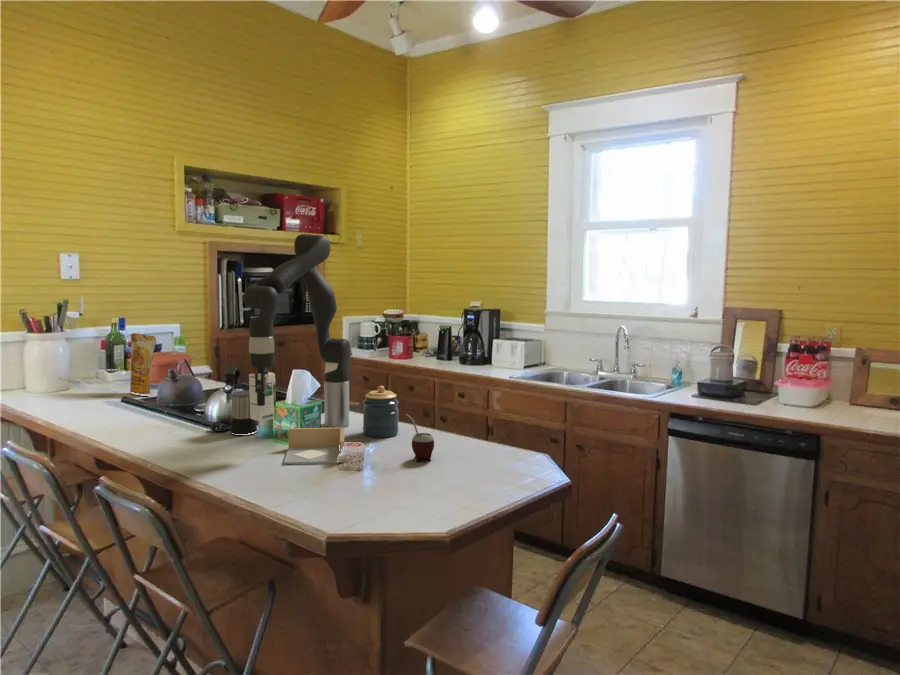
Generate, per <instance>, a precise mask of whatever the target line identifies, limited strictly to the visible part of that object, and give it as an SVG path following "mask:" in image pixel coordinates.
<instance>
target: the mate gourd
mask: <svg viewBox="0 0 900 675" xmlns="http://www.w3.org/2000/svg"><path fill="white" fill-rule="evenodd" d="M405 416H406V417H408V418H409V419H410V420H411V422H412V424H413V427H414V431H415V433H416V434H414V435H413V437H412V439H411V448H412V451H413V454H414V459H415V458H416V460H415V462H416V463H420V462H423V461H424V460H425V462H428V461H431V462H432V459H431V458H432V454H433V451H434V449H435V440H434V437H433V436H432V434H431V433H428V432H418V428H417V425H416V422H415V419H414V418H413V417H412V416H410V415H409V414H407V413H405ZM422 460H423V461H422ZM419 461H420V462H419Z"/></svg>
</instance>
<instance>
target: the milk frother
mask: <svg viewBox="0 0 900 675" xmlns="http://www.w3.org/2000/svg"><path fill="white" fill-rule="evenodd" d="M230 398H231V399H230V400H231V401H230V402H231V406H230V407H231V419H226V418H223V419H219V420H217V421H214V422H213V423H212V424H211V425H210V429H211V431H212V430H213V431H212V432H214V431H218V430H219V429H218V428H219V427H220V428H221V425H222V424H227V423H228V424H227V425H228V427H229V426H230V425H232V428H231V432H232V433H234V434H248V433H252V432H255V431H258V425H257V424H258V423H257V422H258V421H257V420H253V419H251V416H250V390H236V391H232V392H230ZM220 424H221V425H220Z"/></svg>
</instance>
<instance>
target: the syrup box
mask: <svg viewBox="0 0 900 675" xmlns="http://www.w3.org/2000/svg"><path fill="white" fill-rule="evenodd" d="M255 373H256V372H255ZM255 373H253V372H252V373H249V374H248V381H249V385H248V386H249V389H248V390H249V391H250V416H251V419H253V420H257V422H264V421H268V420H269V421H270V420H273V419H277V398H276V397H277V396H276V394H277V393H276V391H277V390H276V374H275V372H272V371H269V372H268V373H269V374H268V378H267V387H265V405H264V406H258V405H257V394H256V392H255ZM266 376H267V374H265V378H266ZM259 381H261V380H259ZM264 383H265V380H264ZM259 389H262V386H259Z"/></svg>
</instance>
